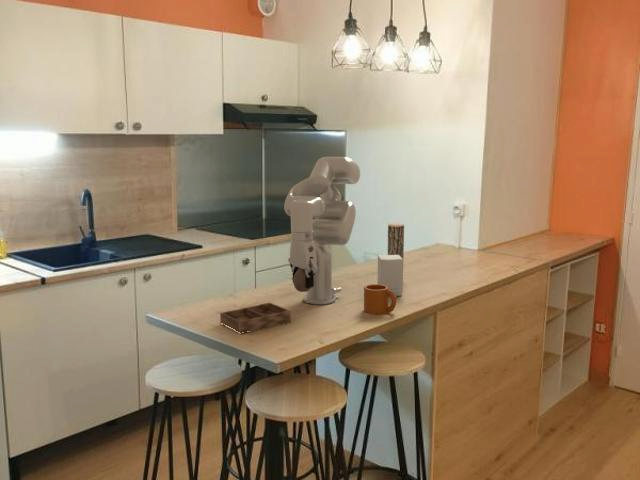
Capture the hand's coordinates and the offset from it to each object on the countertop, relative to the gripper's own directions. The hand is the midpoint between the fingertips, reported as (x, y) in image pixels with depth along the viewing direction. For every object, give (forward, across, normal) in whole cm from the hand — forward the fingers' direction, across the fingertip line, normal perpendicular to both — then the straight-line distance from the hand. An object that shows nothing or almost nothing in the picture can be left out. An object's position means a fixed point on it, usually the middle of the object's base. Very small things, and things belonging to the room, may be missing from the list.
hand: (303, 284), depth 215 cm
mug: (+12, -14, -24) cm, 30 cm away
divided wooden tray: (+11, +3, +18) cm, 21 cm away
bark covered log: (+14, +13, -59) cm, 62 cm away
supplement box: (+13, +1, -44) cm, 46 cm away
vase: (+2, 0, 0) cm, 2 cm away
